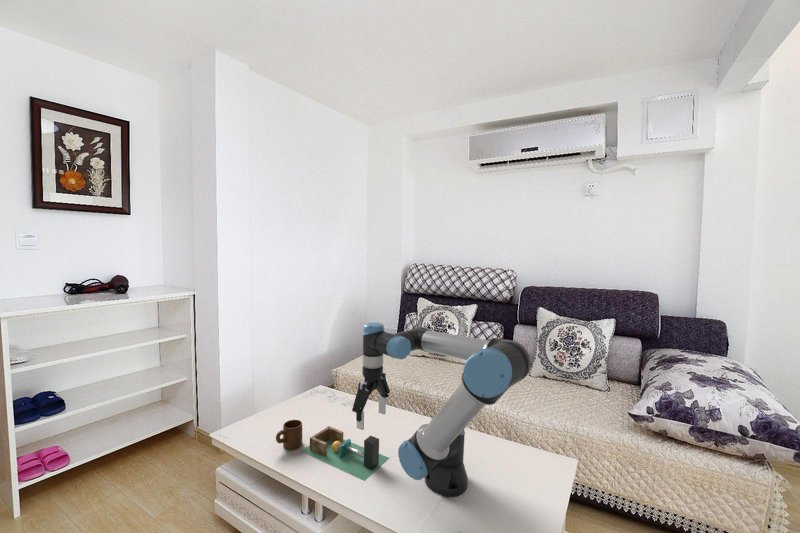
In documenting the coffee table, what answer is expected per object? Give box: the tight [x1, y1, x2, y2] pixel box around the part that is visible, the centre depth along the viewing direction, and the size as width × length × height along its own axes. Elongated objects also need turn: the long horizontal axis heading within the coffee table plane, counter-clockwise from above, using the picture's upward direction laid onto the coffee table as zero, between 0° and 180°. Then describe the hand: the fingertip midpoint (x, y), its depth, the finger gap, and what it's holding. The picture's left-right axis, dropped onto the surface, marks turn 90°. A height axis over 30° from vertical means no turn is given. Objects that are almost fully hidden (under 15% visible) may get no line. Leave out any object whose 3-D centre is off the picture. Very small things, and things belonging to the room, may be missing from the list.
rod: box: [338, 435, 380, 470], centre depth 137 cm, size 16×6×10 cm, turn 58°
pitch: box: [301, 438, 390, 482], centre depth 142 cm, size 32×16×1 cm, turn 58°
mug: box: [275, 419, 303, 451], centre depth 145 cm, size 12×8×9 cm, turn 148°
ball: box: [332, 441, 342, 452], centre depth 143 cm, size 4×4×4 cm
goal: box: [309, 426, 344, 457], centre depth 146 cm, size 8×11×5 cm
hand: (371, 420), depth 134 cm, fingers open, 13 cm apart
